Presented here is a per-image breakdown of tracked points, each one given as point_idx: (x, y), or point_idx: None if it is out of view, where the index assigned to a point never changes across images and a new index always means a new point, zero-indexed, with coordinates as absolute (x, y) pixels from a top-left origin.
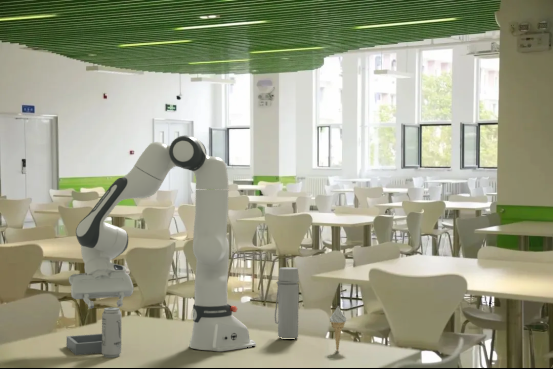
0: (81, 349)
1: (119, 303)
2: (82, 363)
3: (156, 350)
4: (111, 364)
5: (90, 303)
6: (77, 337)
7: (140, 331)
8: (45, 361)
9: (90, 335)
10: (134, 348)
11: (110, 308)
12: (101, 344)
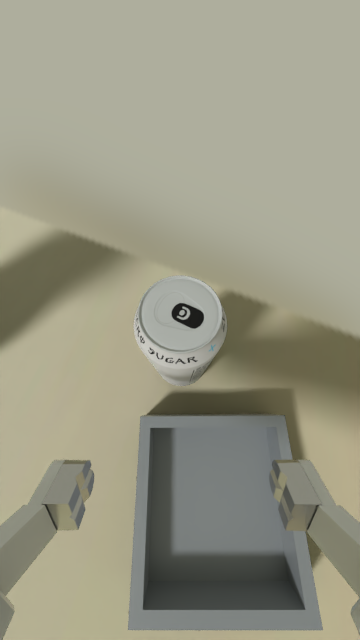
0: (258, 414)
1: (77, 461)
2: (259, 310)
3: (52, 382)
4: (201, 280)
5: (309, 475)
6: (270, 604)
7: None
8: (347, 363)
9: (213, 608)
10: (91, 439)
11: (184, 324)
12: (198, 415)
